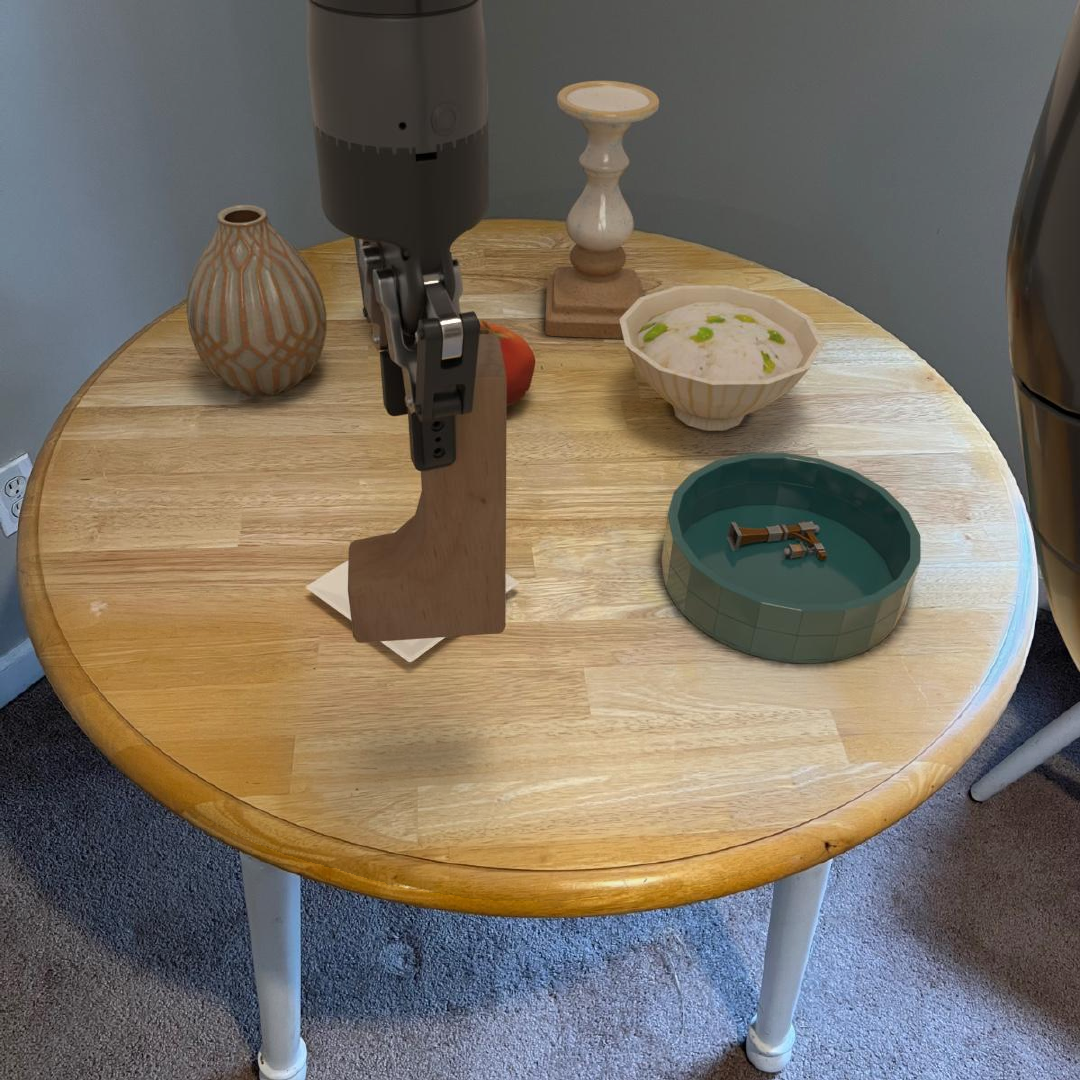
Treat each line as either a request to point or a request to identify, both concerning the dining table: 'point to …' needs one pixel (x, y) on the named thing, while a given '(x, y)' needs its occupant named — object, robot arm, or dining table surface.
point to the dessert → (336, 595)
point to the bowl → (718, 350)
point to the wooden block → (445, 535)
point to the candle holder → (598, 215)
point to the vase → (255, 306)
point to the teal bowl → (776, 580)
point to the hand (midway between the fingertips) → (419, 436)
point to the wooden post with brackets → (776, 533)
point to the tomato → (513, 360)
